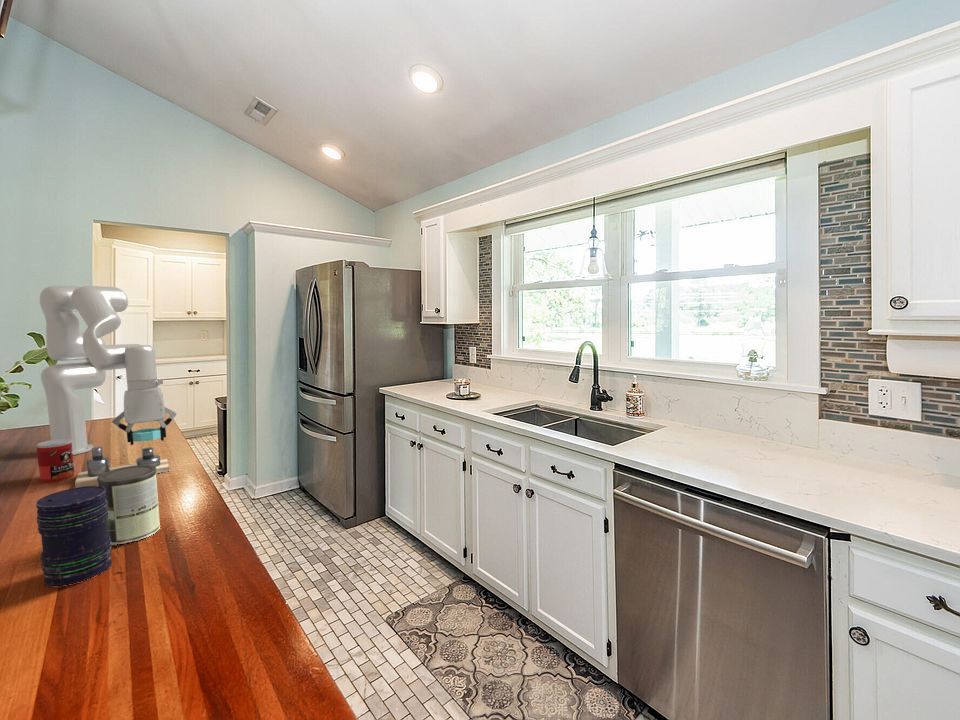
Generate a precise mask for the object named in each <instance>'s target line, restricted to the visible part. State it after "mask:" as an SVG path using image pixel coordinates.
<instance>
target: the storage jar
mask: <svg viewBox="0 0 960 720" xmlns="http://www.w3.org/2000/svg"><path fill="white" fill-rule="evenodd" d="M105 494H106V490H105V488H104V487H100V486H99V485H91V486H85V487H78V488H75V487H73V488H68V489H63V490H60V491H55V492H53V493H50V494H48V495H46V496H43V497H41V498H39V499H38V500H37V501H36V502H35V503H36V504H35V506H36V509H37V510H36V523H37V531H38V534H39V535H41V536H40V537H41V545H42V546H41V547H42V551H41V554H40V561H41V571H42V572H43V576H44V579H43V582H45V583H44V585H45V584H46V585H48V586H63V585H69V584H74V583H77V582H81V581H84V580H87V579H89V578H92V577H94V576H96V575H98V574H101V573H102V572H104V571H106V570H107V569H108V568H109V567H110V566H111V564H112V565H113V561H112V560H113V559H111V558H112V545H111V539H110V536H109V535H108V531H107V518H108V510H107V509H108V504H107V501H106V496H105ZM111 567H112V566H111ZM111 567H110V568H111ZM110 568H109V569H110ZM109 569H108V570H109ZM108 570H107V571H108ZM107 571H106V572H107ZM101 575H102V574H101ZM46 585H45V586H46ZM48 586H47V587H48Z"/></svg>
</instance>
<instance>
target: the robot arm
mask: <svg viewBox="0 0 960 720" xmlns="http://www.w3.org/2000/svg"><path fill="white" fill-rule="evenodd" d="M39 305H40V308H41V311H42V313H43V316H44V318H45V324H46V325H45V329H46V330H45V332H46V333H45V334H46V335H45V337H46V338H45V340H46V353H47V356H48V357H49V358H50V359H51V360H53V361H59V362H60V361H61V362H63V361H79V360H80V361H81V360H85V362H69V363H58V364H53V365H48V366H47V367H45V368H43V369H42V371H41V372H40V380H41V384H42V387H43V390H44V393H45V397H46V404H47V406H46V407H47V412H48V423H49V432H50V433H49V434H50V440H56V439H70V440H71V442H72V451H73V456H75V455H80V454H84V453H88V452H90V451H92V448H93V447H94V445H93V444H91V443H88V438H87V437H88V435H87V426H86V425H87V424H86V415H85V413H86V412H85V403H84V400H83V398H81V396H79V395H78V394H77V393H76V392H75V391H76V390H84V389H90V388H98V387H101V386H102V385H103V384H104V383H105V381H106V378H107V377H106V375H107V371H114V370H122V369H123V370H124V369H125V374H126V376H125V377H126V387H127V389H126V390H124V395H123V411H122V412H121V413H120V414H118V415H117V416H116V417H115V418H113V419H112V421H111V423H112V424H114V425H115V426H116V427H118V428H119V429H120V430H122V431H123V432H125V433H126V441H127V443H130V446H133V445H134V442H135V441H133V435H132V434H133V431H134V430H132V428H133V426H134V424H140V423H148V422H149V423H151V422H157V423H158V424H159V425H160V427H159V428H160V431H161V438H160V441H161V442H163V441H164V440H165V438H167V429H166V428H167V426H169V424H170V423H171V422H172V421H173V420H174V418H175V417H176V416H177V413H176V411H173V410H171V409H170V408H168V407H166V406H165V400H164V395H163V392H162V388H161V387H159V386H161V385H164V381H163V379H161V380H160V379H158V375H157V363H156V362H157V361H156V350H155V348H154V346H152V345H149V344H138V343H129V344H128V343H126V344H125V343H123V344H106V342H105V340H104V339H103V337H105V336H106V335H107V336H108V335H109V334H111V333H113V332H115V331H117V329H118V328H119V327H120V326H121V323H122V319H121V317H120V316H119V314H118V313H121V312H125V311H126V309H127V308H128V306H129V299H128V296H127V294H126V293H125V292H124V290H122V289H121V288H118V287H116V286H101V285H100V286H97V285H86V286H85V285H84V286H78V285H77V286H74V285H73V286H72V285H51V286H47V287H45V288H43V289H42V290H41V292H40V294H39ZM74 312H78V313H79V314H80V316H81V318H82V319H83V321H84V322H85V325H86V326H87V328H86V329H85V330H84V332H80V320H79V318H78V317H77V316H76V314H75V313H74ZM166 414H168V415H169V416H168V417H167V418H166V419H165V417H166ZM123 418H124V421H125V423H126V424H127V425H125V424H124V423H122V422H121V420H122V419H123ZM164 419H165V420H164Z"/></svg>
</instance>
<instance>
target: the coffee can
mask: <svg viewBox="0 0 960 720" xmlns="http://www.w3.org/2000/svg"><path fill="white" fill-rule="evenodd" d="M156 471H157V469H156V467H155V466H151V465H136V466H128V467H123V468H118V469H114V470H111V471H108V472H105V473H103V474H101V475H99V476H98V477H97V481H98V484H97V486H100V487H104V488H105V490H106V494H105V496H106V501H107V504H108V509H107V510H108V518H107V531H108V535H109V536H110V539H111V546H118V545H117V544H123V543H127V542H132V541H137V540H140V539H143V538H146V537H149V536H151V535H152V536H154V535H155V533H156V532H157V531H158V530H159V529H160V530H161V528H160V527H161V522H160V521H161V520H160V509H159V497H158V495H159V493H158V483H157V482H158V481H157V474H156ZM160 530H159V531H160ZM159 531H158V532H159ZM158 532H157V533H158ZM157 533H156V534H157ZM153 534H154V535H153ZM152 536H151V537H152ZM149 538H150V537H149ZM146 539H147V538H146Z"/></svg>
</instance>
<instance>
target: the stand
mask: <svg viewBox="0 0 960 720" xmlns="http://www.w3.org/2000/svg"><path fill="white" fill-rule="evenodd" d="M91 457H92V458H89V459H87V460H86V465H87V466H86V467H87V468H86V469H87V471H88V476H89V477H97V476H99V475H101V474H103V473H105V472H108V471H110V468H111V467H110V458H109V456H104V454H103V447H102V446H93V448H92V450H91Z"/></svg>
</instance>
